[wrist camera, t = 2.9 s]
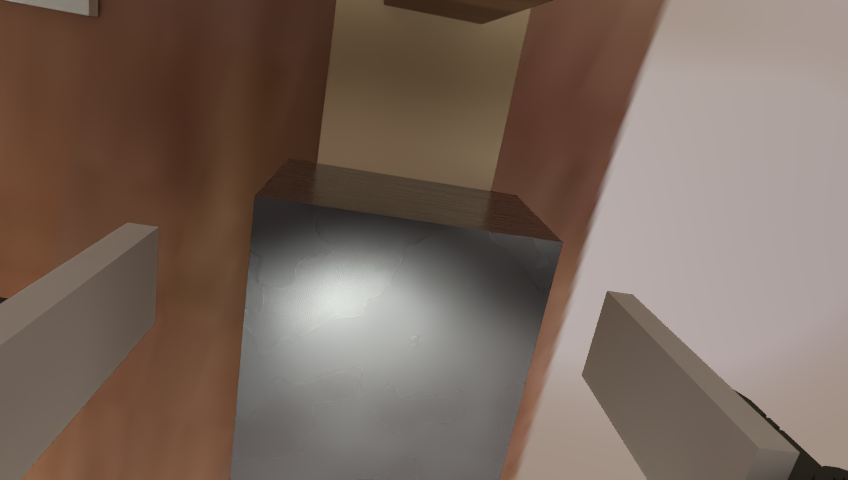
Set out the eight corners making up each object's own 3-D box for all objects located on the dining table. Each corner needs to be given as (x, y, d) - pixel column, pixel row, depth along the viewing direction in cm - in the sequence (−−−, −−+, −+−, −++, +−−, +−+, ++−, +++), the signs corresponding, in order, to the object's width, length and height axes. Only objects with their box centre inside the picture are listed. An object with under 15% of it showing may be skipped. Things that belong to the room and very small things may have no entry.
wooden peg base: (390, 508, 25) (397, 939, 13) (288, 500, 25) (194, 942, 12) (518, -141, 17) (844, -613, 5) (375, -175, 17) (357, -798, 5)
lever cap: (464, 416, 17) (488, 520, 13) (264, 394, 16) (227, 498, 12) (516, 195, 15) (563, 242, 11) (289, 158, 14) (254, 195, 10)
